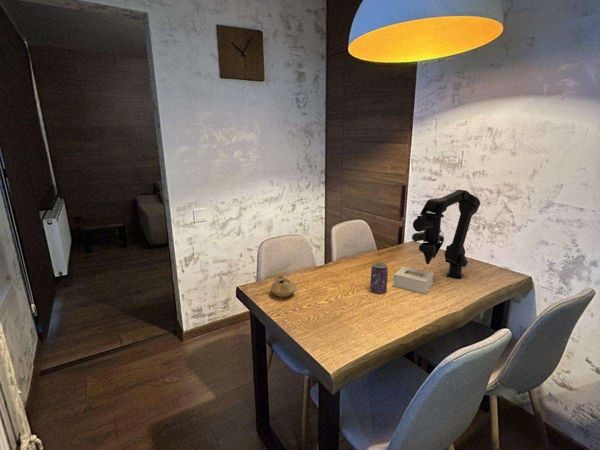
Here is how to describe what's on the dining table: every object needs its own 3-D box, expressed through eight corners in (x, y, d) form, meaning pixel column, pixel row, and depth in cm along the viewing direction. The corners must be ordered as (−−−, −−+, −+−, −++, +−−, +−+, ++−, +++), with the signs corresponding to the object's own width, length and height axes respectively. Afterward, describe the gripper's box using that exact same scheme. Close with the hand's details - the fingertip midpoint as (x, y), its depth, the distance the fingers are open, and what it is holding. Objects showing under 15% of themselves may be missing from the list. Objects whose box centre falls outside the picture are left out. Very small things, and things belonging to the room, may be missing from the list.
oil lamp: (286, 284, 149) (286, 268, 147) (301, 297, 136) (301, 280, 134) (264, 289, 144) (263, 272, 143) (277, 303, 132) (277, 285, 130)
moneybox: (402, 277, 156) (403, 266, 155) (432, 285, 148) (433, 272, 147) (393, 286, 147) (394, 274, 145) (425, 294, 139) (426, 281, 137)
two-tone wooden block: (407, 282, 150) (408, 272, 149) (420, 285, 147) (421, 275, 145) (405, 283, 148) (406, 273, 147) (419, 287, 145) (420, 276, 144)
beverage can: (367, 288, 145) (368, 263, 142) (380, 286, 147) (382, 261, 144) (375, 295, 138) (377, 269, 136) (389, 292, 141) (391, 267, 138)
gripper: (421, 221, 154) (418, 251, 158) (408, 230, 140) (405, 263, 144) (445, 224, 148) (442, 256, 152) (434, 234, 134) (431, 269, 138)
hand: (430, 260), depth 147 cm, fingers open, 9 cm apart
